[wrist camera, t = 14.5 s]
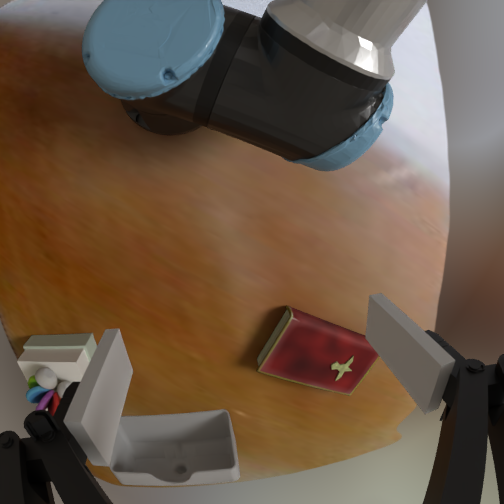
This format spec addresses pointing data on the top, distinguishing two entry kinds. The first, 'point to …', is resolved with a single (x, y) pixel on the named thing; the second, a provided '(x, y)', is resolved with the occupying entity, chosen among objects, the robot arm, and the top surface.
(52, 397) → the chunky wheeled toy
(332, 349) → the hardcover book
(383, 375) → the top surface
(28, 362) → the grey square box
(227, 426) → the light grey storage bin
